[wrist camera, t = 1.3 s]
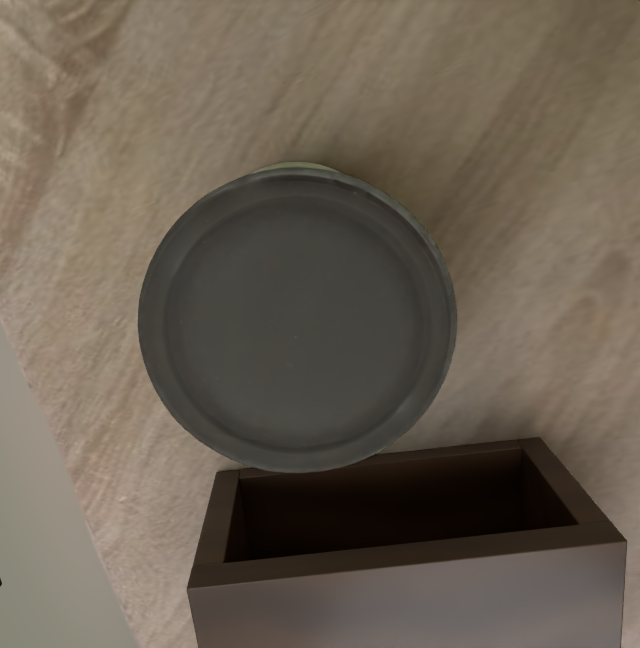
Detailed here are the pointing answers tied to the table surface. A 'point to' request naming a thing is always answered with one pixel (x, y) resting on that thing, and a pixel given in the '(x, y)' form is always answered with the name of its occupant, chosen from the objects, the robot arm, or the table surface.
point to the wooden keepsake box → (410, 555)
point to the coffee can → (297, 319)
